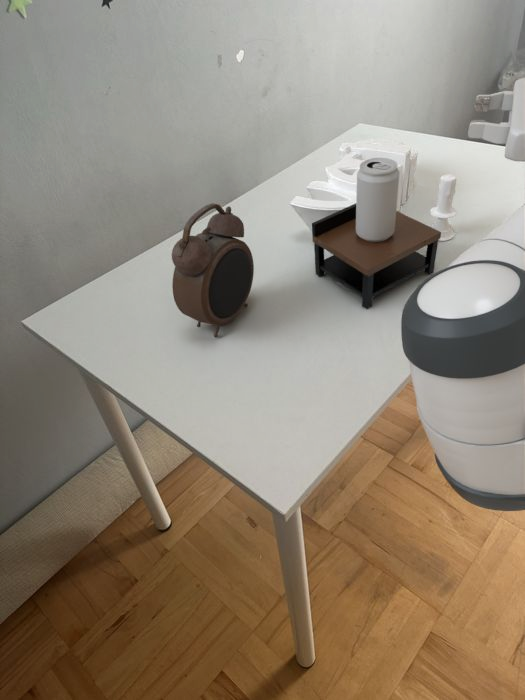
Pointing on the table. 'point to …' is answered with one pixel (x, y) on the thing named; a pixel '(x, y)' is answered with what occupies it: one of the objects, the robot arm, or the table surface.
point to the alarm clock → (212, 269)
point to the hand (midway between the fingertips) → (472, 115)
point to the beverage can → (376, 199)
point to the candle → (445, 207)
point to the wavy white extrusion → (354, 178)
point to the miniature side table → (372, 253)
